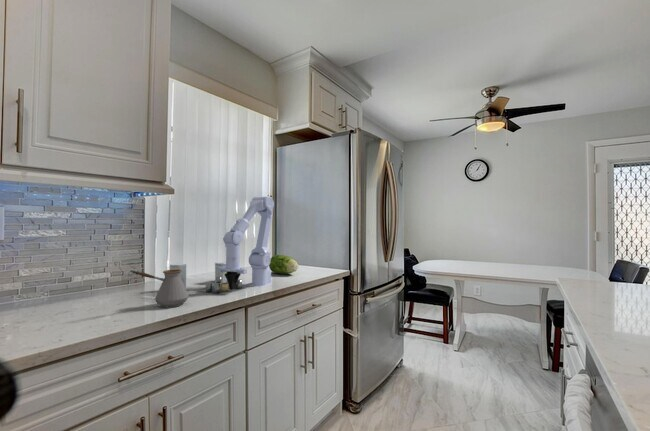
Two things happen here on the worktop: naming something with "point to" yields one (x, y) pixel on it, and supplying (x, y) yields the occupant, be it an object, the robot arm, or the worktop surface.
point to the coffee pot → (169, 288)
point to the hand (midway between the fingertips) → (232, 288)
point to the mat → (220, 291)
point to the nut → (224, 286)
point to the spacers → (216, 286)
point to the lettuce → (283, 264)
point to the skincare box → (182, 273)
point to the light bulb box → (220, 274)
